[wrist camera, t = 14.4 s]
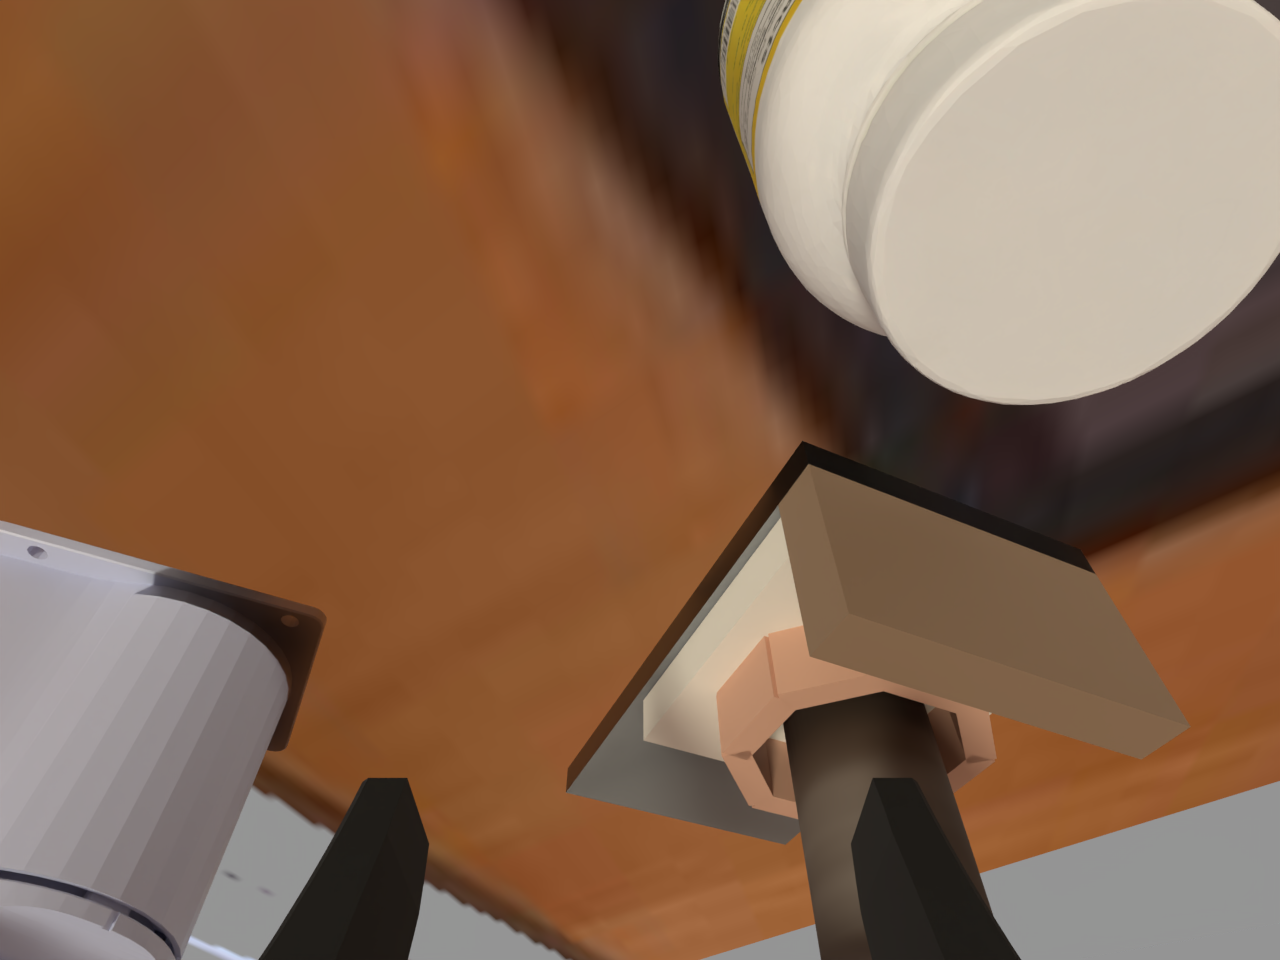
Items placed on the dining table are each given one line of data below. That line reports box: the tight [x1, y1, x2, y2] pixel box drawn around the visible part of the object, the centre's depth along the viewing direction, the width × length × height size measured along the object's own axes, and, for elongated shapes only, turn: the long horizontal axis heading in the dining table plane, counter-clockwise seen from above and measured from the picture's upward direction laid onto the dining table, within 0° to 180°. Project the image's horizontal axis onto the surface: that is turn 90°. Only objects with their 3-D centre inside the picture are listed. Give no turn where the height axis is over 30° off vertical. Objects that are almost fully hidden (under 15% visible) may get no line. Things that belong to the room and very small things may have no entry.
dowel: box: [783, 691, 993, 960], centre depth 21 cm, size 4×4×7 cm
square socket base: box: [643, 518, 997, 819], centre depth 23 cm, size 9×9×4 cm
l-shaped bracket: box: [566, 441, 1191, 845], centre depth 25 cm, size 10×17×6 cm, turn 156°
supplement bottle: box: [718, 0, 1280, 405], centre depth 11 cm, size 5×5×10 cm
